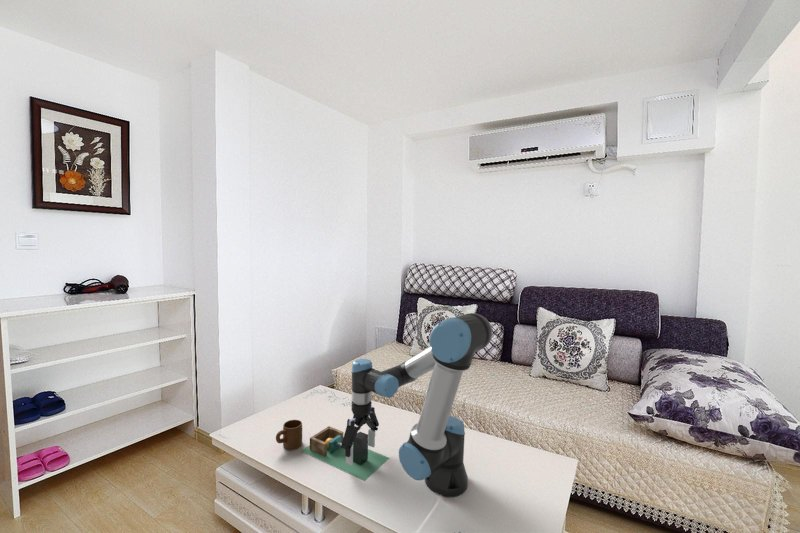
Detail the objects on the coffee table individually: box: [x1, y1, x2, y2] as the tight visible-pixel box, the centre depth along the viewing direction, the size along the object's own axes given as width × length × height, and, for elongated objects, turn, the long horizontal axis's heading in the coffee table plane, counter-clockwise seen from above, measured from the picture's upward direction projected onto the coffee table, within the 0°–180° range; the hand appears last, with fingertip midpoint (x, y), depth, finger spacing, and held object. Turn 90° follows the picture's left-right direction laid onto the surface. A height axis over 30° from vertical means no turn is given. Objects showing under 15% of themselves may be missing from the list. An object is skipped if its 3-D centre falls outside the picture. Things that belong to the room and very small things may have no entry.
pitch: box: [301, 444, 390, 482], centre depth 142 cm, size 32×16×1 cm, turn 58°
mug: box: [275, 419, 303, 451], centre depth 145 cm, size 12×8×9 cm, turn 148°
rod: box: [329, 431, 369, 465], centre depth 140 cm, size 16×6×10 cm, turn 58°
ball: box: [325, 438, 333, 449], centre depth 146 cm, size 4×4×4 cm
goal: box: [309, 426, 344, 457], centre depth 146 cm, size 8×11×5 cm
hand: (360, 454), depth 137 cm, fingers open, 13 cm apart
